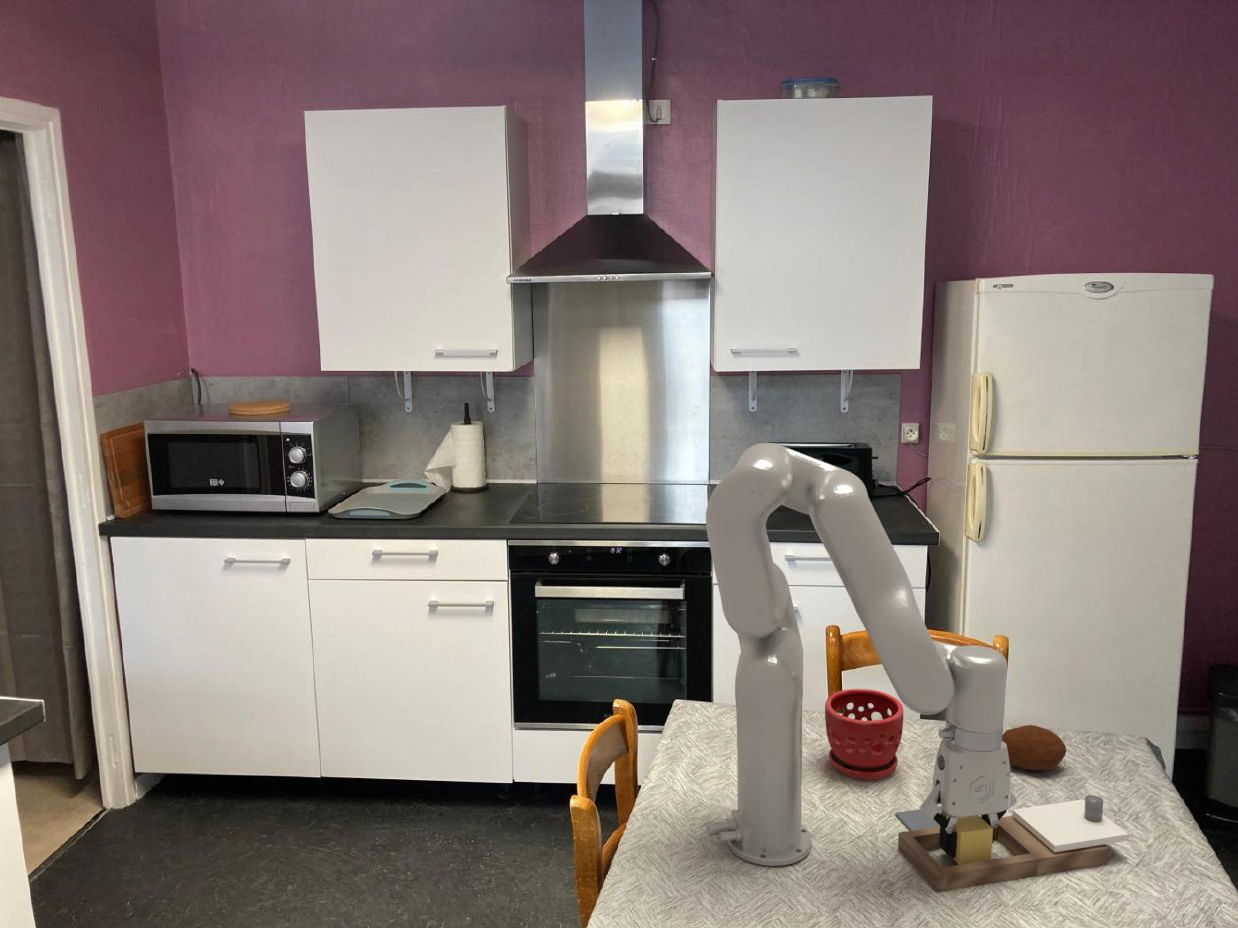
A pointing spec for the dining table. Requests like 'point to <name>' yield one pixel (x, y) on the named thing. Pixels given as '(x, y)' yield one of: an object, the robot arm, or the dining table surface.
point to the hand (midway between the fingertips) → (965, 849)
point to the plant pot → (864, 733)
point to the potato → (1034, 748)
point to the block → (973, 840)
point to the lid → (1071, 824)
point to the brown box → (1025, 863)
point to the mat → (917, 819)
